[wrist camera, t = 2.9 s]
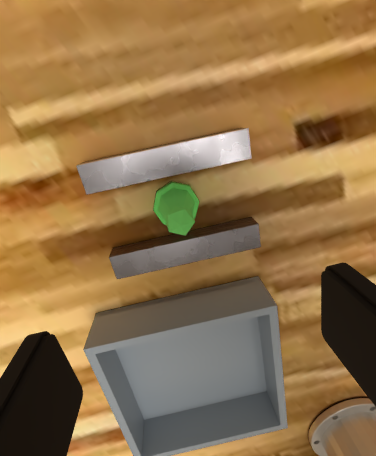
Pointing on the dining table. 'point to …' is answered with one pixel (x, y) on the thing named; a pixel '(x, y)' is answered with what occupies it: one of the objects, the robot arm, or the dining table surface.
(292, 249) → the dining table surface
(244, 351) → the bin
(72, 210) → the dining table surface
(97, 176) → the slot holder
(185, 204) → the game piece
